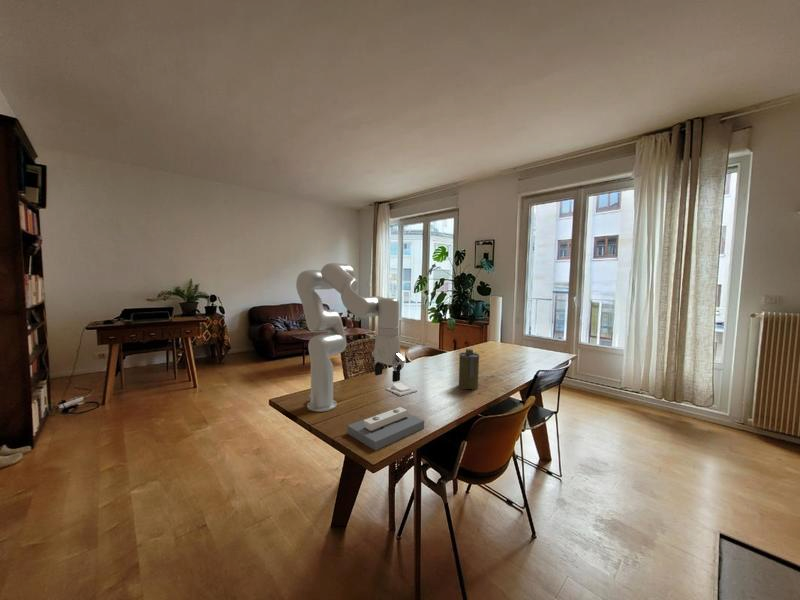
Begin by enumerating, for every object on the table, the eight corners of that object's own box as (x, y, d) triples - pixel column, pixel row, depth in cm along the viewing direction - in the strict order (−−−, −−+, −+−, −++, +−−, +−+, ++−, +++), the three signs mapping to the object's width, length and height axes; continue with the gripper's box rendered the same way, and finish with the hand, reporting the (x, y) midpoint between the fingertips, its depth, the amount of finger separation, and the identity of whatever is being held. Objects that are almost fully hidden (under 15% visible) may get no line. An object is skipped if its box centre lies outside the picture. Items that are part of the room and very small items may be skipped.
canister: (456, 383, 176) (457, 347, 175) (475, 383, 177) (476, 347, 175) (461, 390, 165) (462, 352, 164) (481, 390, 166) (482, 352, 165)
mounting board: (347, 433, 118) (347, 425, 118) (395, 414, 134) (395, 407, 134) (375, 450, 106) (375, 441, 106) (424, 428, 123) (424, 420, 123)
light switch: (401, 379, 172) (417, 384, 162) (401, 387, 172) (417, 393, 162) (384, 383, 166) (400, 389, 156) (384, 391, 166) (400, 397, 156)
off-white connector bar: (363, 436, 116) (363, 419, 115) (399, 421, 128) (400, 406, 128) (370, 440, 113) (370, 423, 112) (407, 425, 125) (407, 409, 125)
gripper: (365, 329, 121) (364, 374, 123) (396, 336, 109) (395, 386, 110) (380, 328, 127) (379, 370, 128) (412, 334, 114) (411, 381, 115)
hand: (387, 377), depth 119 cm, fingers open, 9 cm apart
